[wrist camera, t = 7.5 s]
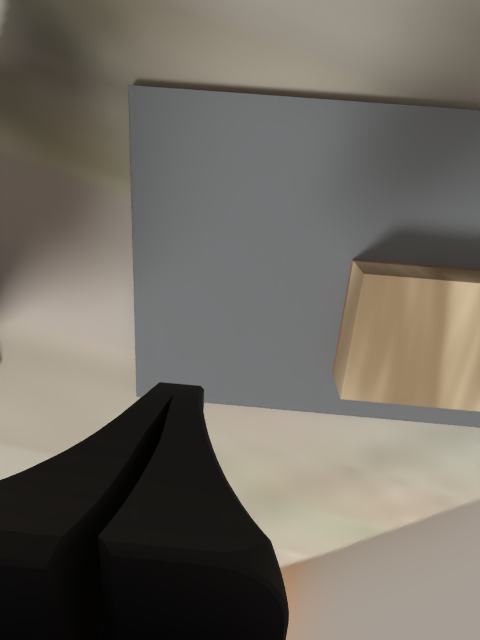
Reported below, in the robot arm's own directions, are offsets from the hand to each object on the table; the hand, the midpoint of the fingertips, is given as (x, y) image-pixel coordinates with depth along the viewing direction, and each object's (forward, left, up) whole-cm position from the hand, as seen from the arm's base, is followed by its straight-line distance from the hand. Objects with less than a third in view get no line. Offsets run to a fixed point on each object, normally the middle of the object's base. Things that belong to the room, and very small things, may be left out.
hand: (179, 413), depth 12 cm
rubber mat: (+6, +2, -9) cm, 11 cm away
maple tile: (+6, 0, -8) cm, 10 cm away
